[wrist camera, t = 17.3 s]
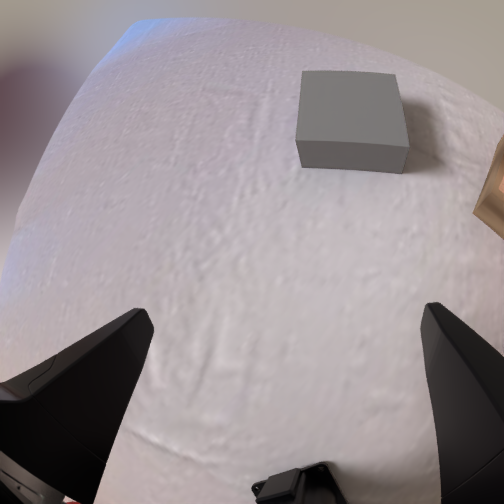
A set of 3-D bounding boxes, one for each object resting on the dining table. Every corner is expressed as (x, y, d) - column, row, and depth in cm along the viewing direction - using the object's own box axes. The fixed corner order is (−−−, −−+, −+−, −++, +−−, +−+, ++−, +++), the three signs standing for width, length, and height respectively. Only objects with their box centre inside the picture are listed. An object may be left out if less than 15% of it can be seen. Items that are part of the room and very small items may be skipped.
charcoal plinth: (401, 173, 22) (409, 147, 19) (301, 167, 25) (295, 140, 21) (391, 102, 25) (395, 74, 21) (307, 98, 27) (302, 71, 24)
